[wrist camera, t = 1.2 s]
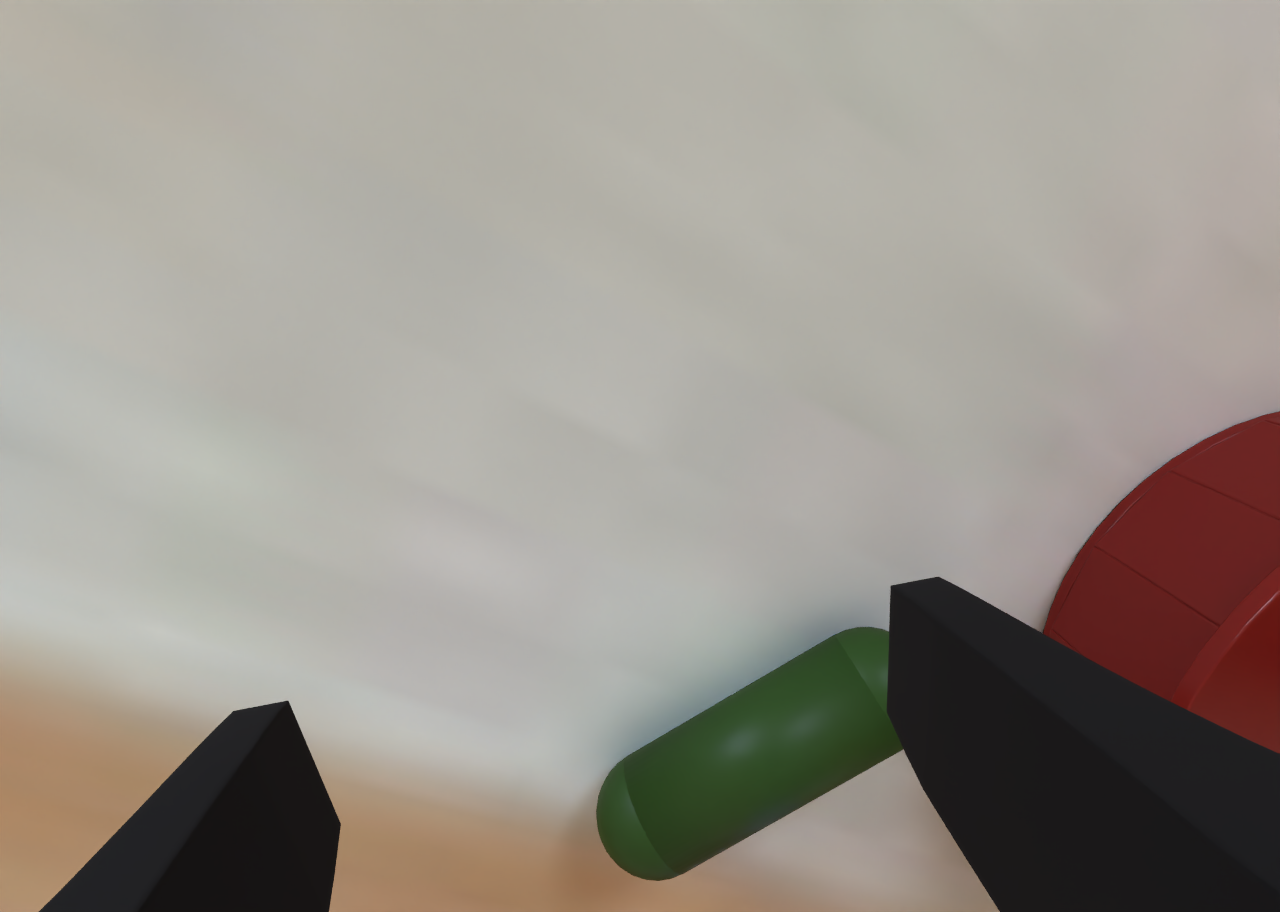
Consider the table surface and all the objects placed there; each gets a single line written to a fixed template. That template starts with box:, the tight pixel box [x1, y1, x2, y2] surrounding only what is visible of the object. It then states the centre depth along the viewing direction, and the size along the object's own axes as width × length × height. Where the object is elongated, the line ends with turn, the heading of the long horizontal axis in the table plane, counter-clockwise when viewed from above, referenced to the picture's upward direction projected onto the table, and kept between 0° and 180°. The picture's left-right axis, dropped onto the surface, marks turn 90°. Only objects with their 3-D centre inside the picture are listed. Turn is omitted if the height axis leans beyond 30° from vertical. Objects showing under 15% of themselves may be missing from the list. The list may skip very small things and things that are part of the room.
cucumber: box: [596, 627, 903, 881], centre depth 21 cm, size 10×3×3 cm, turn 122°
